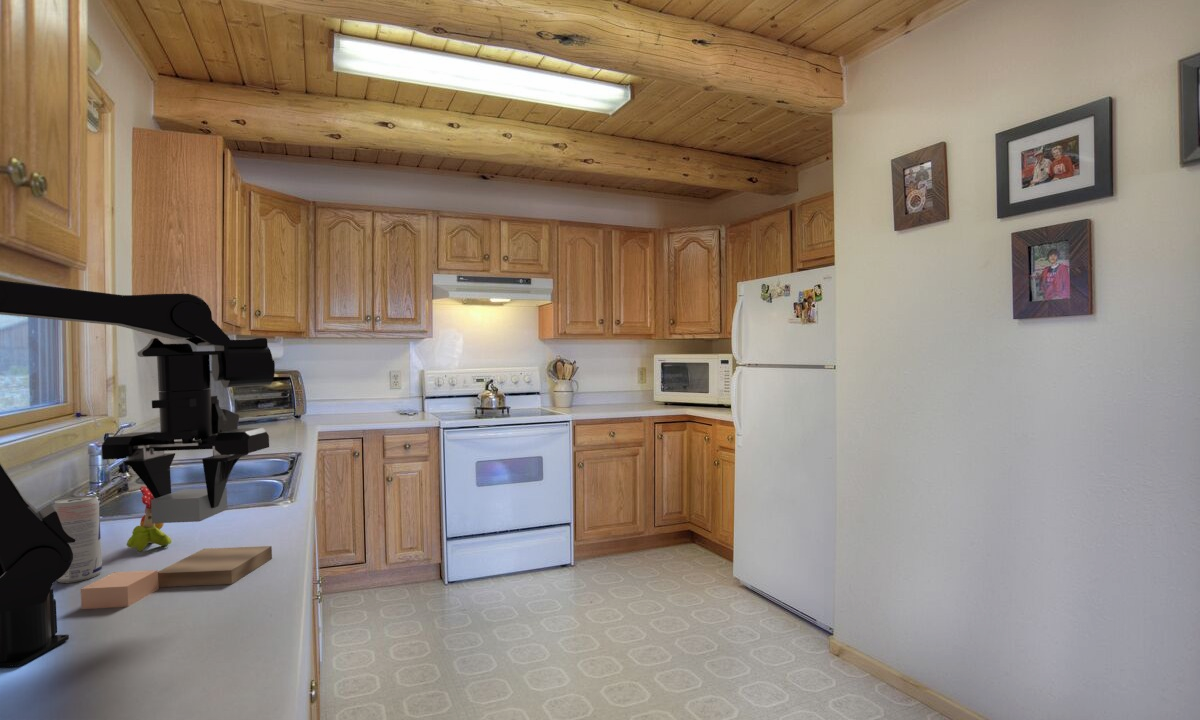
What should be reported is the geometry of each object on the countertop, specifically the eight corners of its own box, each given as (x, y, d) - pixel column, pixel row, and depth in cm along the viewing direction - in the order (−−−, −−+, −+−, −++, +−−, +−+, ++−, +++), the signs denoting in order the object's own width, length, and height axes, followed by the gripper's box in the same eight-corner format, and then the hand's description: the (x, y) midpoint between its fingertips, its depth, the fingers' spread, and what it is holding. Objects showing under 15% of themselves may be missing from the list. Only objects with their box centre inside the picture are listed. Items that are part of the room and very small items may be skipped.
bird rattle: (129, 558, 109) (125, 549, 102) (128, 497, 112) (125, 484, 105) (172, 551, 112) (171, 542, 105) (170, 492, 116) (169, 479, 109)
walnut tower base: (231, 584, 88) (231, 570, 88) (155, 586, 88) (154, 573, 88) (272, 558, 99) (271, 546, 99) (204, 560, 99) (203, 548, 99)
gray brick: (199, 521, 78) (198, 498, 78) (152, 523, 78) (151, 500, 78) (227, 509, 84) (226, 487, 84) (183, 511, 84) (182, 489, 84)
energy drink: (97, 568, 97) (94, 493, 97) (106, 575, 94) (102, 497, 94) (52, 578, 93) (49, 500, 93) (60, 586, 90) (56, 505, 90)
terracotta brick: (128, 608, 81) (127, 586, 81) (81, 611, 81) (80, 588, 81) (158, 590, 87) (157, 570, 87) (115, 593, 87) (114, 572, 87)
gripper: (287, 384, 89) (291, 491, 89) (157, 389, 88) (162, 496, 89) (242, 389, 77) (248, 511, 78) (94, 394, 77) (101, 517, 78)
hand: (190, 508), depth 81 cm, fingers closed on gray brick, 6 cm apart
